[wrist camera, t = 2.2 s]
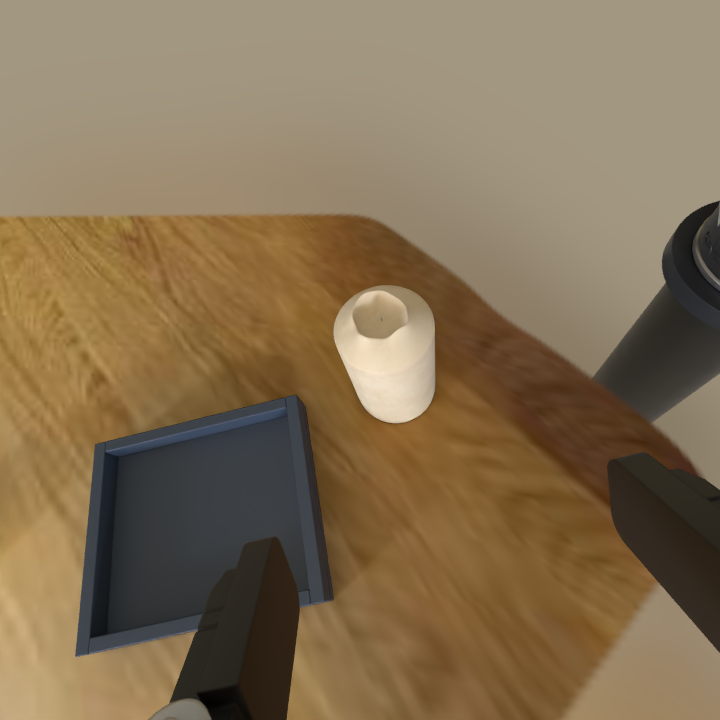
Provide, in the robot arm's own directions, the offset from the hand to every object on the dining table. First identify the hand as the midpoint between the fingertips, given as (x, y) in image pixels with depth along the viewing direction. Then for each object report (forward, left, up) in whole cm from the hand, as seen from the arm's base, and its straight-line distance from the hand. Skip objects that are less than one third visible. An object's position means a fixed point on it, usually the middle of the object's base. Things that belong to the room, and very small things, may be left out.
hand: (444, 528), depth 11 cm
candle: (0, -11, -18) cm, 21 cm away
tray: (+14, -5, -18) cm, 23 cm away
